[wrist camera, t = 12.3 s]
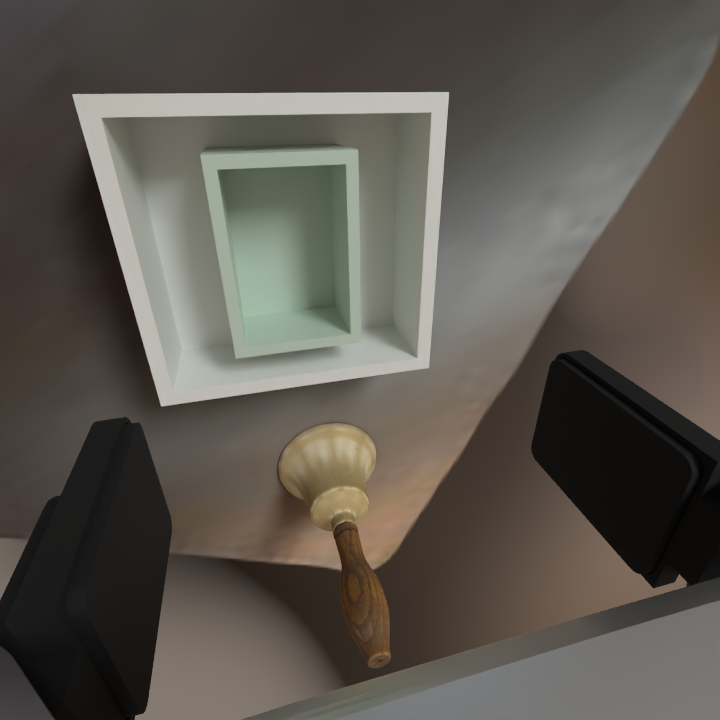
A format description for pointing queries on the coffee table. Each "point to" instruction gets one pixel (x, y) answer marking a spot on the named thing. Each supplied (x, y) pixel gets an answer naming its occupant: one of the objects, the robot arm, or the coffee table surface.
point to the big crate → (197, 242)
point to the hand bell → (342, 520)
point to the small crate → (287, 244)
